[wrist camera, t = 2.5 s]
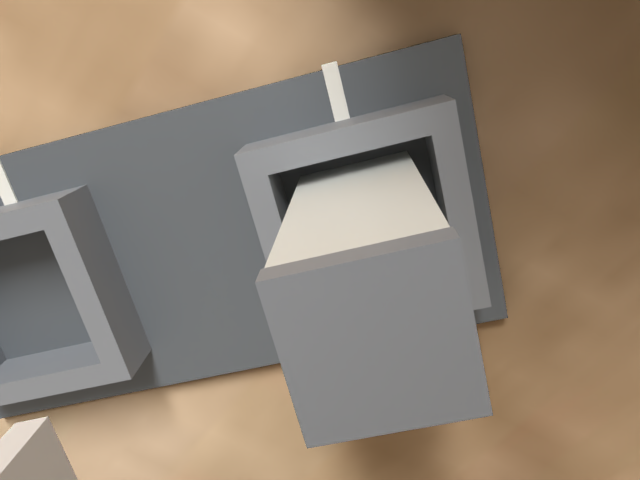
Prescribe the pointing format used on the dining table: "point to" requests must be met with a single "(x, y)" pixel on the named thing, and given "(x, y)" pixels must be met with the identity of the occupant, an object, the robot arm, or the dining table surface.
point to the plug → (372, 306)
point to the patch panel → (210, 222)
